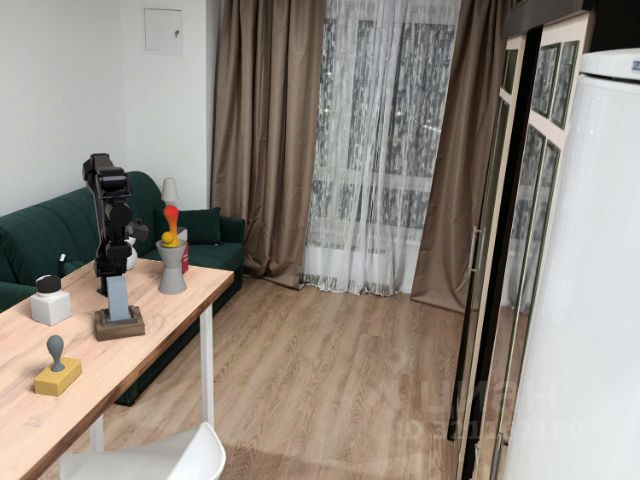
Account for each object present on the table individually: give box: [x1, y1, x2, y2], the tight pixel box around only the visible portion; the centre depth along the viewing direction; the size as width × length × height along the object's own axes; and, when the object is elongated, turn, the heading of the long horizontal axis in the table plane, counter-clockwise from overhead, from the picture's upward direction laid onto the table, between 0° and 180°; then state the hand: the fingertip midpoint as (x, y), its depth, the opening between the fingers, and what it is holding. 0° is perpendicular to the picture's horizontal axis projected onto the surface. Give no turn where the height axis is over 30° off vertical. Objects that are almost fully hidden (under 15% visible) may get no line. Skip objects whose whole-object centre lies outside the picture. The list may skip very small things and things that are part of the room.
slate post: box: [106, 275, 129, 321], centre depth 156 cm, size 4×4×11 cm
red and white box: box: [164, 226, 189, 275], centre depth 192 cm, size 11×4×15 cm, turn 168°
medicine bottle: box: [29, 274, 73, 327], centre depth 161 cm, size 7×7×12 cm
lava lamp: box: [155, 177, 188, 296], centre depth 179 cm, size 9×9×35 cm
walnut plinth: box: [93, 304, 146, 343], centre depth 159 cm, size 12×12×4 cm
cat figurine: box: [125, 237, 138, 272], centre depth 195 cm, size 9×12×15 cm
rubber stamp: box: [33, 334, 83, 397], centre depth 132 cm, size 10×6×12 cm, turn 172°
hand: (118, 269), depth 164 cm, fingers open, 9 cm apart
